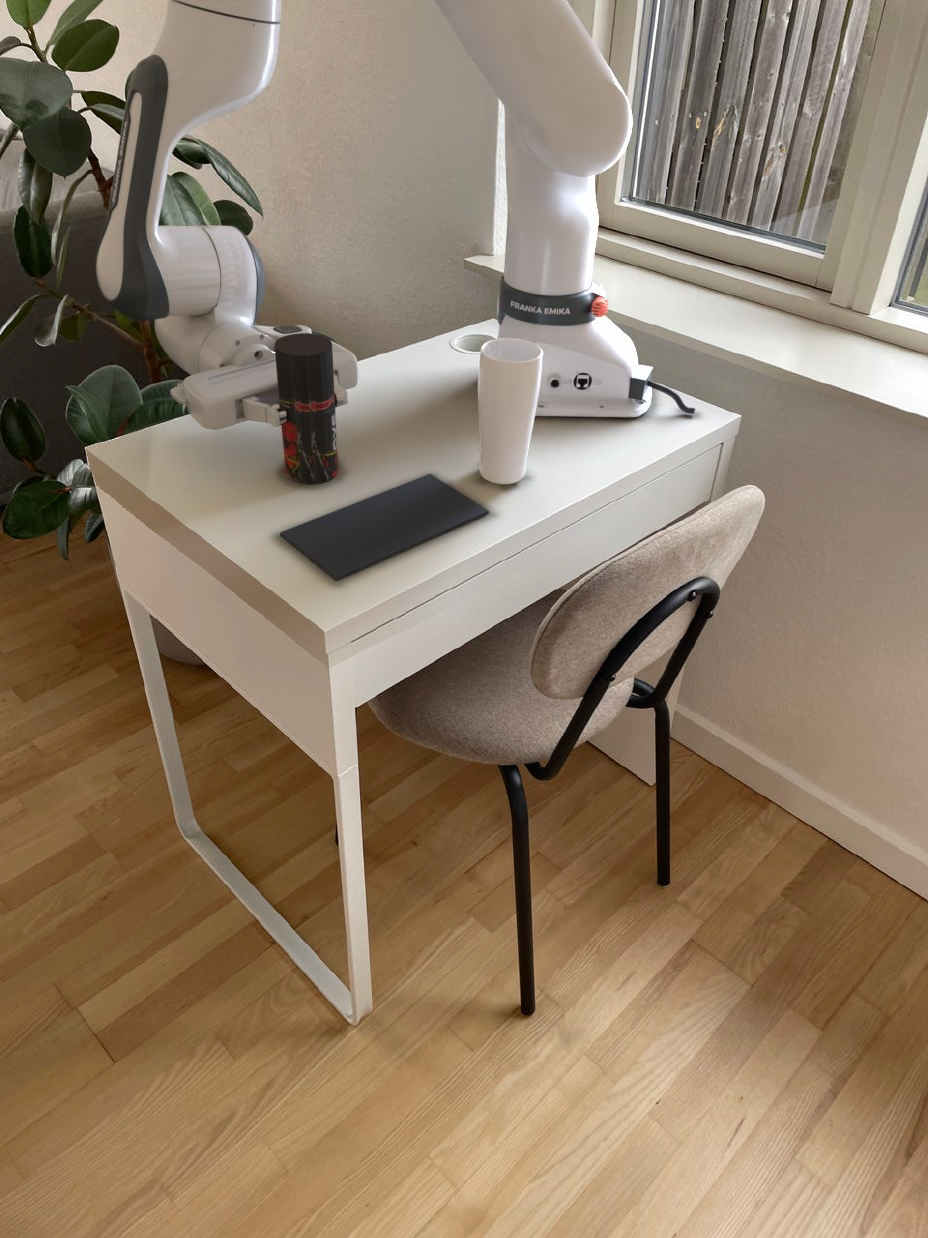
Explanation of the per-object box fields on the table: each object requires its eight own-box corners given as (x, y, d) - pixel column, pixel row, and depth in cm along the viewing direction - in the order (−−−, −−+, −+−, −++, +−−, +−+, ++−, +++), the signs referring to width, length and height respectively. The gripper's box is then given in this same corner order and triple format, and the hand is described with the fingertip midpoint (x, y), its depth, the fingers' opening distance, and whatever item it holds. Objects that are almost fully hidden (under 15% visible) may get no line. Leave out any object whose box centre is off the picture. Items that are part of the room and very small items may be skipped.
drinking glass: (526, 493, 104) (539, 366, 95) (467, 485, 105) (473, 358, 96) (535, 464, 109) (547, 341, 100) (478, 457, 110) (485, 333, 101)
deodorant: (340, 482, 104) (335, 354, 95) (287, 486, 103) (275, 356, 94) (335, 456, 109) (329, 331, 100) (284, 460, 108) (272, 334, 98)
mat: (430, 476, 106) (430, 473, 106) (489, 513, 101) (489, 510, 100) (280, 535, 96) (279, 532, 95) (336, 581, 90) (336, 577, 90)
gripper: (158, 362, 101) (223, 407, 93) (315, 321, 112) (386, 359, 104) (167, 415, 105) (230, 463, 97) (318, 371, 116) (386, 411, 108)
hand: (312, 409), depth 101 cm, fingers open, 6 cm apart
